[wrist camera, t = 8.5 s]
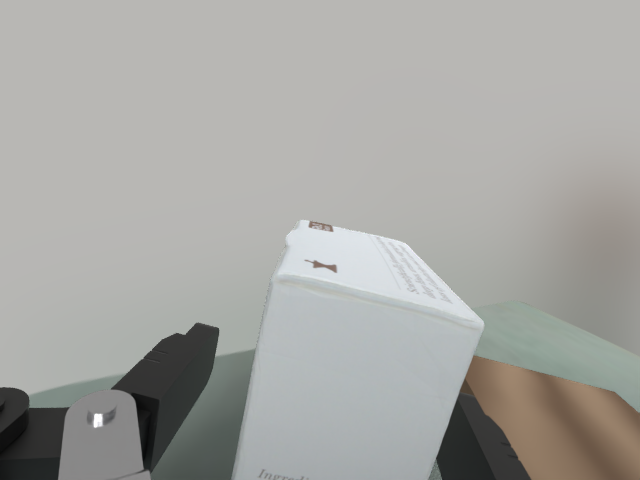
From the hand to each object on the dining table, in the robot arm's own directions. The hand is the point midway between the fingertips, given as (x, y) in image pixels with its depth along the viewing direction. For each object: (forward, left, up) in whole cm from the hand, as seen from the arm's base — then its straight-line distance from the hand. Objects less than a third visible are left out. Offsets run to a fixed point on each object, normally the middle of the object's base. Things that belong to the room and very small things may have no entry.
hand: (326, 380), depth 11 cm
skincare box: (0, +1, -7) cm, 7 cm away
